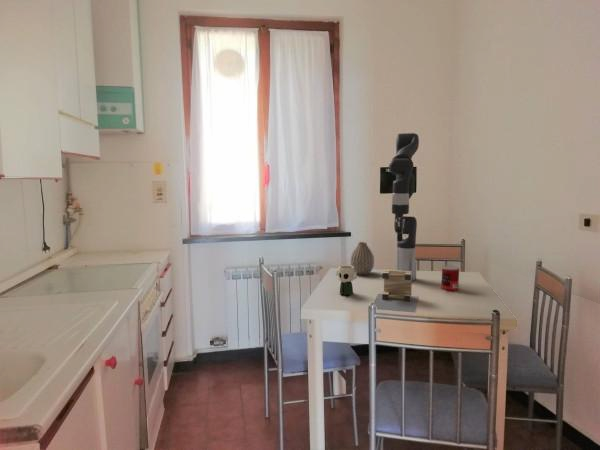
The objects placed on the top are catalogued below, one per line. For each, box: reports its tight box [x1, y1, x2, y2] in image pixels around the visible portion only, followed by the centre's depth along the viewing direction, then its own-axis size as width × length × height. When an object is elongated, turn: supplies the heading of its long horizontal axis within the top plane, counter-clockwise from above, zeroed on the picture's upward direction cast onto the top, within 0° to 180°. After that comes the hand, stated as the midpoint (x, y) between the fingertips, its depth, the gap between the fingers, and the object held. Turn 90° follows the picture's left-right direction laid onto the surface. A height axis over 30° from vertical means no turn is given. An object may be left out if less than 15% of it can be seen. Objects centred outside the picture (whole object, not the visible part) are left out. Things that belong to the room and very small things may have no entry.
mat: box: [373, 293, 419, 313], centre depth 192 cm, size 23×18×1 cm
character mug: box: [335, 264, 358, 296], centre depth 206 cm, size 11×7×13 cm, turn 52°
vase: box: [349, 241, 375, 276], centre depth 246 cm, size 13×13×18 cm
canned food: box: [441, 264, 460, 292], centre depth 213 cm, size 8×8×11 cm
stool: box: [381, 269, 413, 302], centre depth 197 cm, size 7×12×12 cm, turn 72°
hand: (399, 241), depth 203 cm, fingers closed
